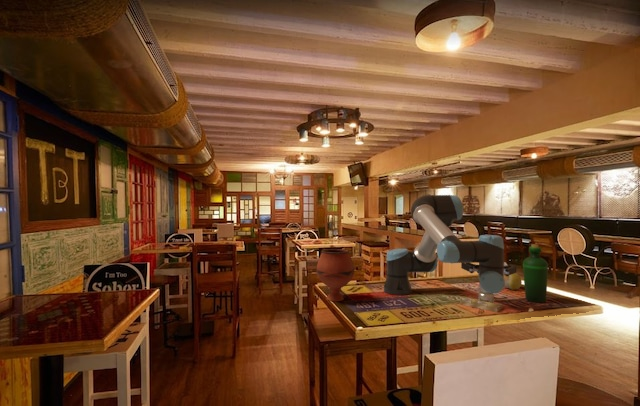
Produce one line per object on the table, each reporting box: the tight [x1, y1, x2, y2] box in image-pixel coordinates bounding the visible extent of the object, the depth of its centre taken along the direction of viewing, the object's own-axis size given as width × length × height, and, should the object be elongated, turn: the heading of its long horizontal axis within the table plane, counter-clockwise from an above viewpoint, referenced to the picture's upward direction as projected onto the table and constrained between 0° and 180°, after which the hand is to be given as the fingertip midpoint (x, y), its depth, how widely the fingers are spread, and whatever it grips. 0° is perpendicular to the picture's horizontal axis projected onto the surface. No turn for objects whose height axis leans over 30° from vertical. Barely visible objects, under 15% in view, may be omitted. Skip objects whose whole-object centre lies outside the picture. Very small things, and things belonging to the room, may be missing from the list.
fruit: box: [504, 272, 523, 291], centre depth 179 cm, size 10×11×10 cm
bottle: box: [522, 243, 549, 304], centre depth 157 cm, size 11×11×28 cm
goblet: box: [316, 248, 355, 302], centre depth 160 cm, size 19×19×25 cm
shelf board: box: [459, 296, 504, 313], centre depth 148 cm, size 16×9×4 cm, turn 44°
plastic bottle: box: [477, 273, 495, 303], centre depth 147 cm, size 6×7×20 cm
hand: (487, 264), depth 138 cm, fingers open, 13 cm apart
